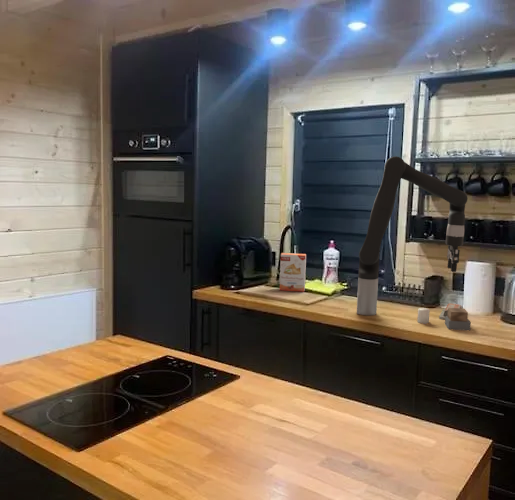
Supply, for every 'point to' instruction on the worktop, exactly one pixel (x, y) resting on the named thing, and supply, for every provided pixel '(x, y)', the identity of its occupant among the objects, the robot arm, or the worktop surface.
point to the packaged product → (445, 310)
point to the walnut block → (457, 314)
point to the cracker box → (292, 272)
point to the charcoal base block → (457, 324)
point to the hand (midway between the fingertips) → (451, 270)
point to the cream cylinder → (423, 315)
